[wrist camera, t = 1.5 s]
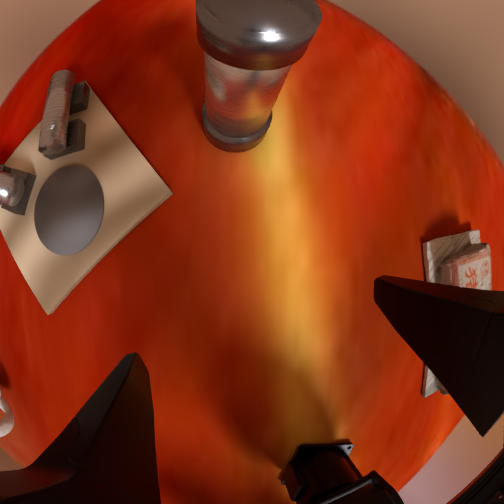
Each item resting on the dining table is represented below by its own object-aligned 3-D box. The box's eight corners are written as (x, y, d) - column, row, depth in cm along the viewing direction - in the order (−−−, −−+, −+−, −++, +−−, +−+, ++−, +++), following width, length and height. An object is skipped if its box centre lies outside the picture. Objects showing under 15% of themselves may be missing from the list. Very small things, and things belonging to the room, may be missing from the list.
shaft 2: (84, 152, 18) (63, 136, 14) (51, 163, 17) (27, 150, 14) (90, 85, 18) (75, 64, 14) (58, 97, 17) (41, 79, 13)
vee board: (173, 193, 20) (170, 190, 18) (52, 313, 18) (45, 315, 17) (88, 84, 18) (84, 78, 17) (-10, 191, 17) (-16, 190, 16)
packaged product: (492, 373, 20) (442, 411, 19) (468, 363, 25) (418, 394, 24) (499, 227, 20) (452, 241, 18) (470, 229, 24) (418, 241, 23)
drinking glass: (273, 106, 21) (326, -7, 8) (258, 159, 20) (314, 55, 8) (213, 92, 20) (219, -31, 7) (194, 144, 20) (175, 25, 7)
